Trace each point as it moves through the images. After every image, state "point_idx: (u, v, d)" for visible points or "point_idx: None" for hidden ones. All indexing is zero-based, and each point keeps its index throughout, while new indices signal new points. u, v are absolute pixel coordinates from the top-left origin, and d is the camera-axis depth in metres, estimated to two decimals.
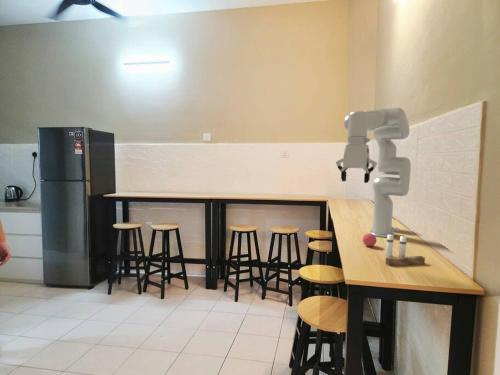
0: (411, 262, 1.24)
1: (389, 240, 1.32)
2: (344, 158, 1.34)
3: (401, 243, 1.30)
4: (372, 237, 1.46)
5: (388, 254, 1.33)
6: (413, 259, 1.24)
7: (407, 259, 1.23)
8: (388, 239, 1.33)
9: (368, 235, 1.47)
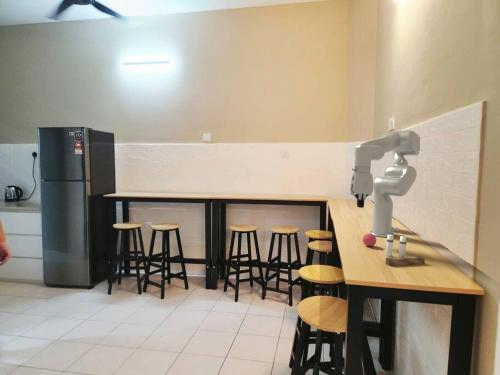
0: (411, 262, 1.24)
1: (389, 240, 1.32)
2: None
3: (401, 243, 1.30)
4: (372, 237, 1.46)
5: (388, 254, 1.33)
6: (413, 259, 1.24)
7: (407, 259, 1.23)
8: (388, 239, 1.33)
9: (368, 235, 1.47)
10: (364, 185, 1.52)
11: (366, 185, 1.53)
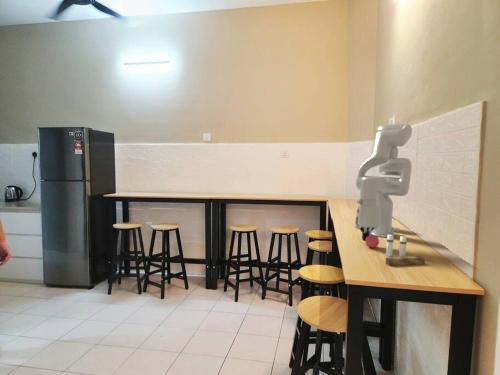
0: (411, 262, 1.24)
1: (389, 240, 1.32)
2: None
3: (401, 243, 1.30)
4: (375, 241, 1.43)
5: (388, 254, 1.33)
6: (413, 259, 1.24)
7: (407, 259, 1.23)
8: (388, 239, 1.33)
9: (372, 238, 1.44)
10: (369, 218, 1.47)
11: (372, 219, 1.47)
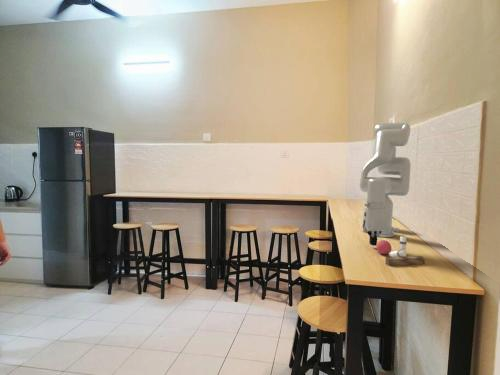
0: (411, 262, 1.24)
1: (399, 256, 1.26)
2: None
3: (401, 243, 1.30)
4: None
5: (390, 256, 1.31)
6: (413, 259, 1.24)
7: (407, 259, 1.23)
8: (399, 255, 1.25)
9: None
10: (377, 222, 1.42)
11: (380, 222, 1.42)
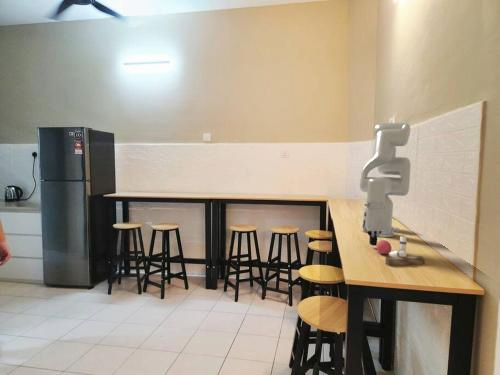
0: (411, 262, 1.24)
1: (399, 256, 1.26)
2: None
3: (401, 243, 1.30)
4: None
5: (390, 256, 1.31)
6: (413, 259, 1.24)
7: (407, 259, 1.23)
8: (399, 255, 1.25)
9: None
10: (377, 222, 1.42)
11: (380, 222, 1.42)
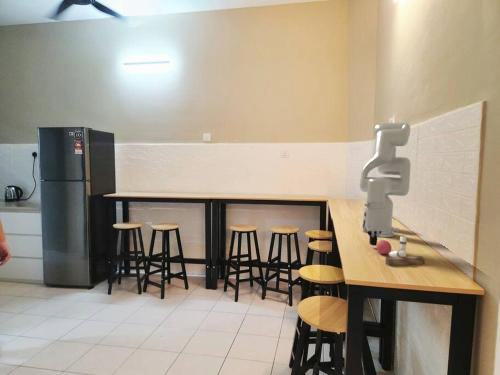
0: (411, 262, 1.24)
1: (399, 256, 1.26)
2: None
3: (401, 243, 1.30)
4: None
5: (390, 256, 1.31)
6: (413, 259, 1.24)
7: (407, 259, 1.23)
8: (399, 255, 1.25)
9: None
10: (377, 222, 1.42)
11: (380, 222, 1.42)
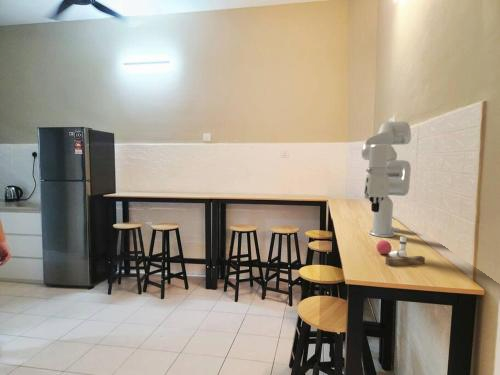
0: (411, 262, 1.24)
1: (399, 256, 1.26)
2: None
3: (401, 243, 1.30)
4: None
5: (390, 256, 1.31)
6: (413, 259, 1.24)
7: (407, 259, 1.23)
8: (398, 255, 1.25)
9: None
10: (379, 187, 1.40)
11: (382, 188, 1.41)
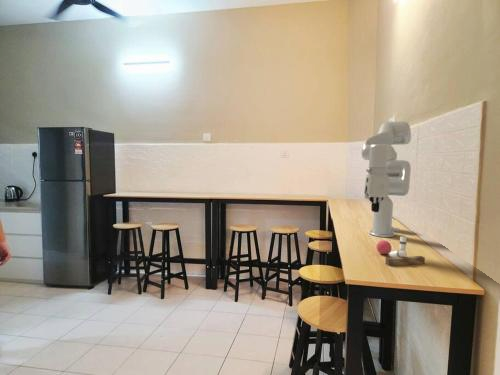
0: (411, 262, 1.24)
1: (399, 256, 1.26)
2: None
3: (401, 243, 1.30)
4: None
5: (390, 256, 1.31)
6: (413, 259, 1.24)
7: (407, 259, 1.23)
8: (398, 255, 1.25)
9: None
10: (379, 187, 1.40)
11: (382, 188, 1.41)
